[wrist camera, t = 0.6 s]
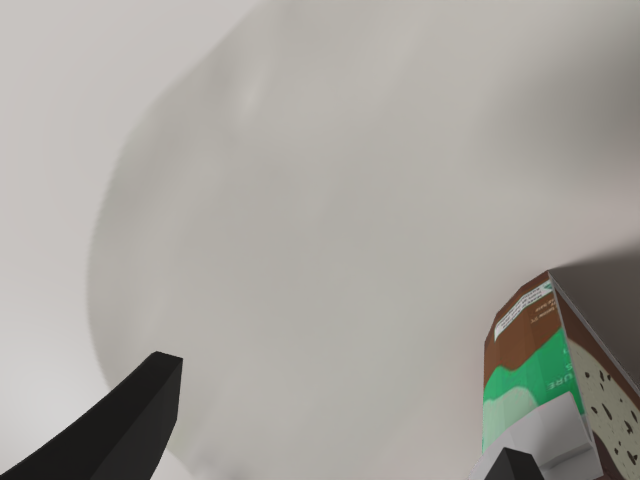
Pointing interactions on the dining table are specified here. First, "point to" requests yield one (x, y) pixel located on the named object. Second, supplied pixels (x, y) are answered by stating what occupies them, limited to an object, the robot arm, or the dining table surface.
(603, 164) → the dining table surface
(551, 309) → the food container
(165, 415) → the robot arm
